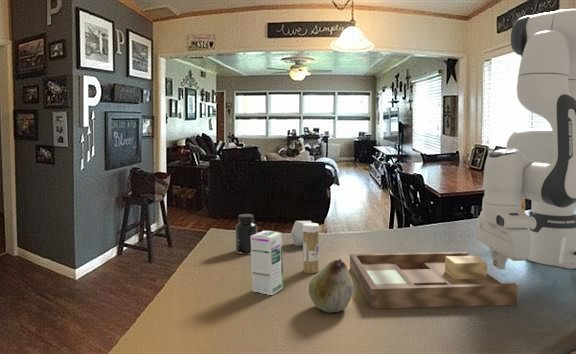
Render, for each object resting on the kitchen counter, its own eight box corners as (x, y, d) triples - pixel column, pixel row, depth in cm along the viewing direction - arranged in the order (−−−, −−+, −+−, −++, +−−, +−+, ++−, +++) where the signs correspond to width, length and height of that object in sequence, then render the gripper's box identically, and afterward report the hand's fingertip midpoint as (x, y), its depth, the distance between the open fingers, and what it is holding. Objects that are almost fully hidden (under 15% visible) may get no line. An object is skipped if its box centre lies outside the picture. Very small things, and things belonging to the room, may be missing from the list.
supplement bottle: (231, 253, 144) (231, 216, 143) (242, 247, 151) (241, 212, 149) (251, 255, 142) (250, 218, 140) (260, 249, 148) (260, 213, 147)
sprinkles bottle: (316, 274, 123) (316, 226, 122) (300, 273, 125) (300, 225, 123) (320, 269, 127) (320, 222, 126) (305, 268, 129) (304, 221, 127)
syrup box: (271, 296, 108) (271, 237, 106) (251, 292, 111) (250, 234, 109) (283, 288, 113) (283, 232, 111) (263, 285, 116) (262, 229, 114)
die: (308, 251, 148) (323, 225, 150) (284, 237, 149) (299, 212, 151) (306, 254, 156) (321, 229, 158) (284, 240, 157) (299, 216, 159)
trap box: (465, 267, 128) (465, 251, 128) (516, 304, 101) (517, 285, 101) (349, 269, 127) (349, 254, 126) (371, 308, 100) (371, 289, 100)
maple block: (475, 270, 117) (475, 255, 117) (486, 278, 111) (487, 262, 111) (445, 271, 117) (445, 256, 117) (454, 279, 111) (455, 263, 111)
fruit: (339, 322, 93) (340, 266, 92) (300, 312, 98) (300, 259, 97) (359, 305, 102) (359, 253, 101) (322, 297, 107) (322, 248, 106)
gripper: (470, 206, 123) (468, 256, 125) (510, 223, 103) (507, 281, 104) (493, 206, 123) (490, 255, 125) (537, 222, 103) (533, 281, 105)
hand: (498, 267), depth 114 cm, fingers closed
